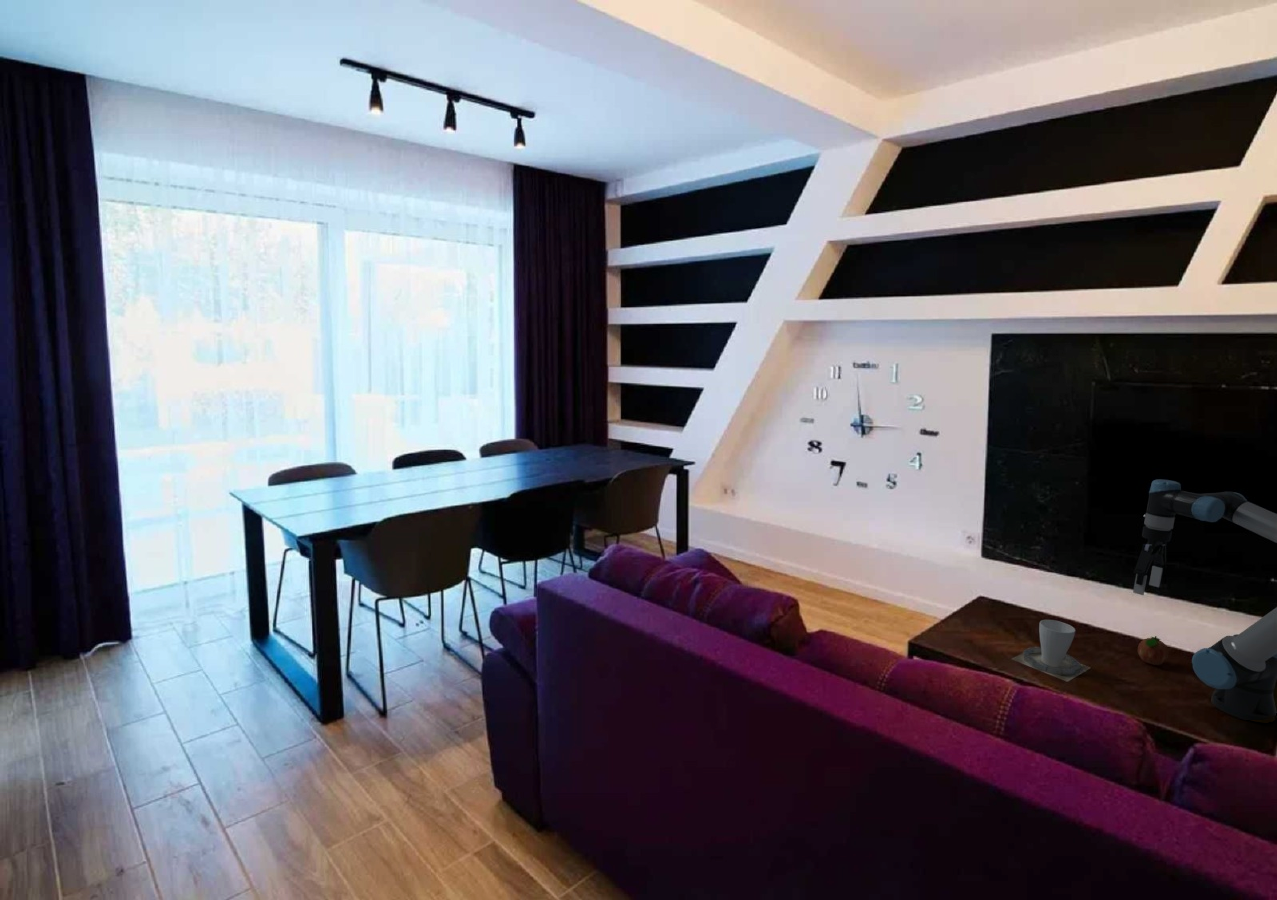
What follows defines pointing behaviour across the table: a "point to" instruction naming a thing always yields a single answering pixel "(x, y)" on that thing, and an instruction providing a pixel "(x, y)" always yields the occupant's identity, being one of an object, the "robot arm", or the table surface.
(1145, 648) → the fruit
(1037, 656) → the board
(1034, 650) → the ring collar
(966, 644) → the table surface
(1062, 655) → the cup
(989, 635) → the table surface
